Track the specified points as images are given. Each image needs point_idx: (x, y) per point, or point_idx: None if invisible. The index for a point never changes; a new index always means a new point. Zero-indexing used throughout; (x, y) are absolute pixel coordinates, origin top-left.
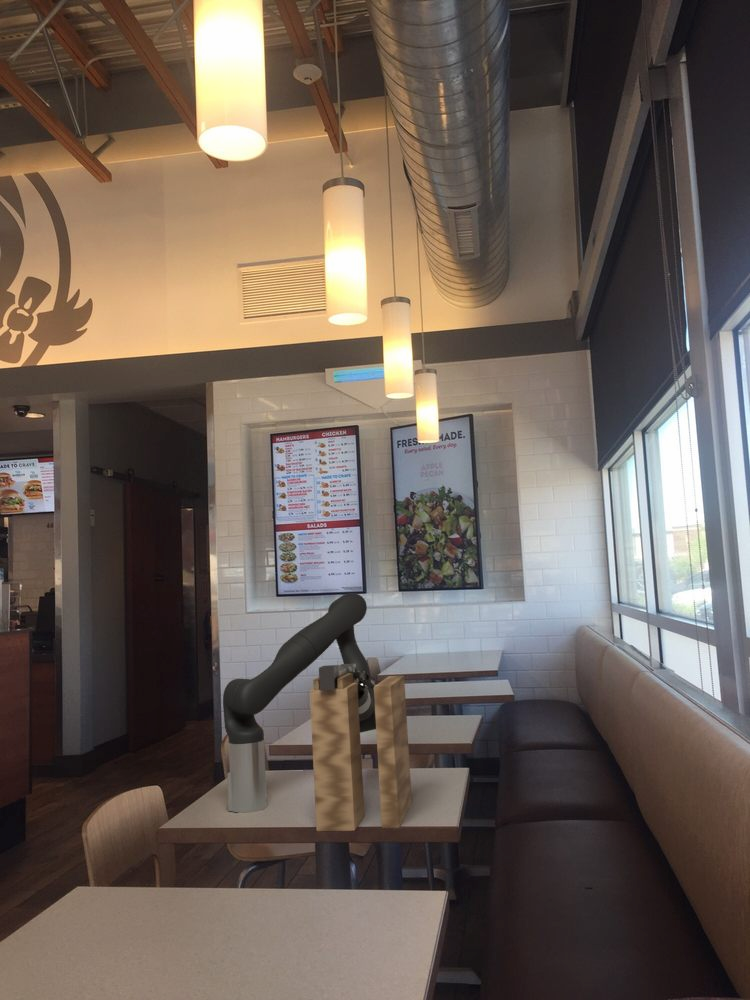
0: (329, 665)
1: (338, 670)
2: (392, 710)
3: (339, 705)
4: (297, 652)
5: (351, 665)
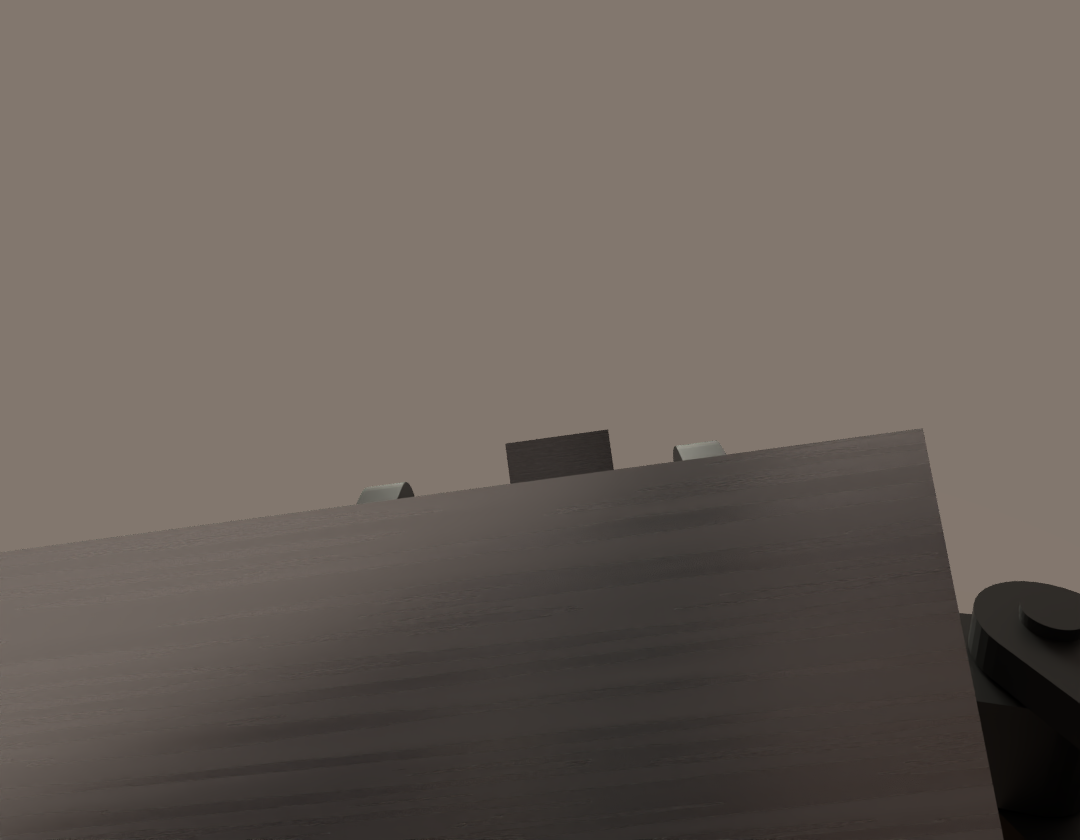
0: (566, 435)
1: (510, 479)
2: None
3: None
4: None
5: (389, 484)
